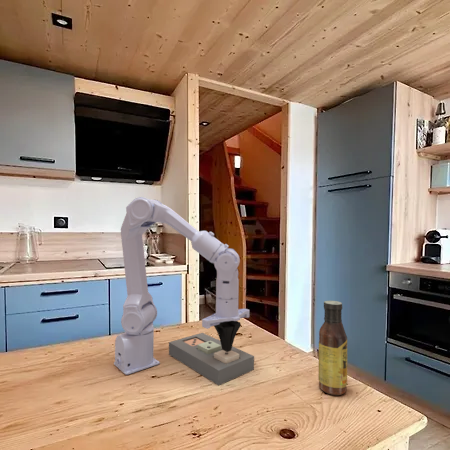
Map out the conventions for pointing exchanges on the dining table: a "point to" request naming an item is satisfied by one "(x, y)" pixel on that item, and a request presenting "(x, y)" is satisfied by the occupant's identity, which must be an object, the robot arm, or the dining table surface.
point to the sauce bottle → (332, 351)
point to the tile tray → (210, 360)
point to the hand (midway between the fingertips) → (226, 350)
